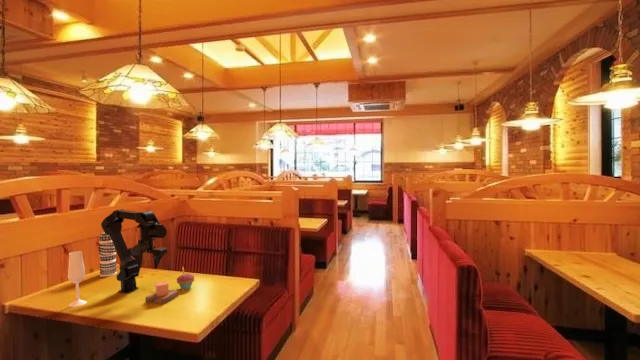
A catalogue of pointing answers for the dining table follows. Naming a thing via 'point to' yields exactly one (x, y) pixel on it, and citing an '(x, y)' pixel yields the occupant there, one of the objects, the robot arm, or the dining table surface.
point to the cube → (162, 288)
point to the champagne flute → (76, 274)
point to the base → (161, 297)
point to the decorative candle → (107, 255)
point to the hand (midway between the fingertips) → (148, 268)
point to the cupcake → (185, 280)
